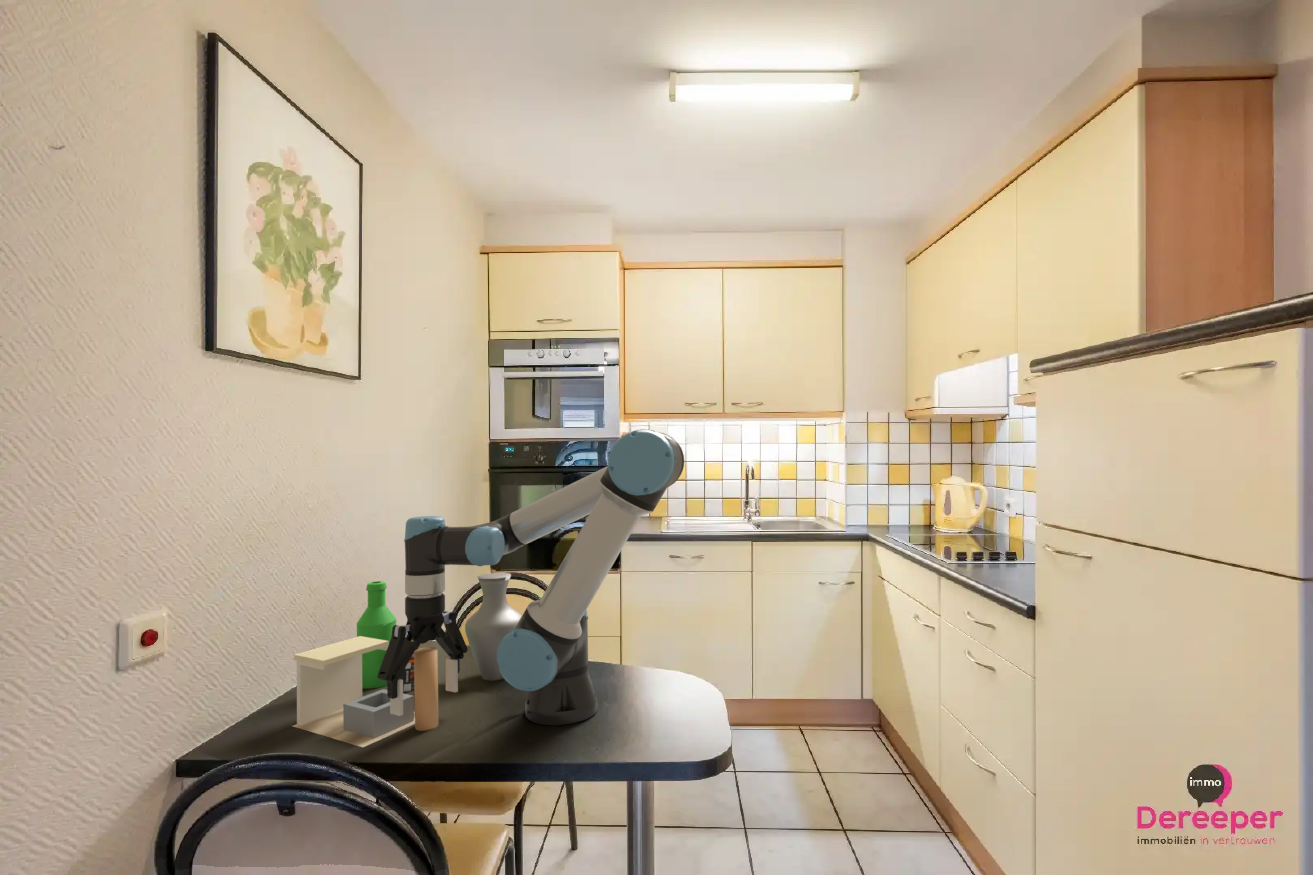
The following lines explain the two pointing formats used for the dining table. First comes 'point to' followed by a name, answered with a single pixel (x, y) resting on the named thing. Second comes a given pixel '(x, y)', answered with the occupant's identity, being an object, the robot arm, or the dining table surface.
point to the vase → (491, 624)
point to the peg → (426, 688)
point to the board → (335, 729)
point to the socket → (376, 714)
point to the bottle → (375, 632)
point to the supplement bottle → (408, 675)
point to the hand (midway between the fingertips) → (425, 702)
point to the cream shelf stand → (331, 676)
